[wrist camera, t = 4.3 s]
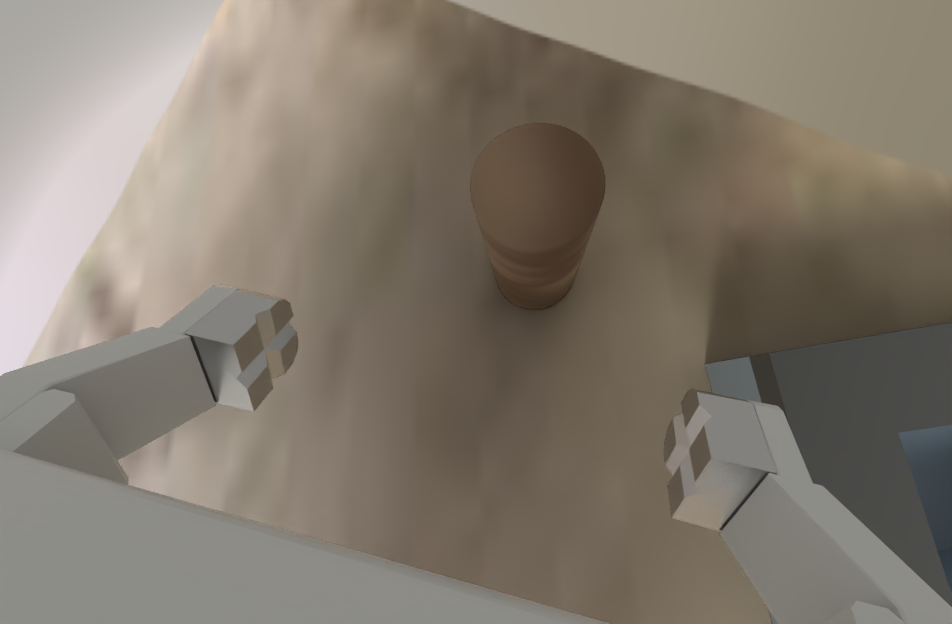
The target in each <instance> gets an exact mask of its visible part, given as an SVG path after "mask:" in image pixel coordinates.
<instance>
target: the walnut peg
mask: <svg viewBox="0 0 952 624" xmlns="http://www.w3.org/2000/svg"><path fill="white" fill-rule="evenodd" d="M470 191H471V199H472V203H473V207H474V210H475V213H476V217H477V220H478V223H479V226H480V229H481V233H482V236H483V239H484V242H485V245H486V249H487V252H488V255H489V258H490V261H491V265H492V268H493V271H494V274H495V277H496V281H497V284H498V286H499V289H500V290H501V292H502V293H503V295H504V296H505V297H506V298H507V299H508V300H509V301H510V302H512V303H513V304H515V305H516V306H519V307H521V308H525V309H530V310H539V309H545V308H548V307H551V306H553V305H555V304H557V303H558V302H559V301H561V300H562V299H563V298H564V297H565V296H566V294H567V293H568V292H569V290H570V288H571V286H572V284H573V281H574V278H575V275H576V273H577V270H578V267H579V265H580V262H581V259H582V256H583V254H584V251H585V248H586V245H587V243H588V240H589V237H590V235H591V232H592V229H593V226H594V224H595V221H596V218H597V215H598V213H599V210H600V207H601V205H602V201H603V198H604V193H605V175H604V170H603V166H602V163H601V161H600V159H599V157H598V155H597V153H596V152H595V150H594V149H593V147H592V146H591V145H590V144H589V143H588V142H587V141H586V140H585V139H584V138H582V137H581V136H580V135H578V134H577V133H575V132H573V131H571V130H569V129H567V128H565V127H562V126H559V125H554V124H547V123H532V124H526V125H522V126H518V127H515V128H513V129H510V130H508V131H506V132H504V133H503V134H501V135H499V136H498V137H497V138H495V139H494V140H493V141H492V142H491V143H490V144H489V145H488V146H487V147H486V148H485V149H484V150H483V152H482V153H481V155H480V156H479V158H478V160H477V162H476V164H475V166H474V169H473V172H472V177H471V185H470Z"/></svg>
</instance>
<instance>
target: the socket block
mask: <svg viewBox="0 0 952 624" xmlns="http://www.w3.org/2000/svg"><path fill="white" fill-rule="evenodd" d="M705 366H706V370H707V374H708V378H709V382H710V385H711V389H712V393H715V394H720V395H725V396H729V397H734V398H739V399H744V400H746V401H747V400H751V401H756V402H761V403H766V404H771V405H776V406H778V407H779V408H780V409H781V410H783V412H784V414H785V417H786V419H787V422H788V424H789V426H790V429H791V431H792V434H793V436H794V439H795V441H796V443H797V446H798V448H799V451H800V453H801V455H802V458H803V460H804V463H805V465H806V468H807V470H808V472H809V475H810V477H811V480H812V482H813V483H814V484H818V485H821V486H823V487H824V488H826V489H827V490H828V491H829V492H830V493H831V494H832V495H833V496H834V497H835V498H836V499H837V500H838V501H839V502H840V503H841V504H843V505H844V506H845V507H846V508H847V509H848V510H849V511H850V512H851V513H852V514H853V515H854V516H855V517H856V518H857V519H858V520H860V521H861V522H862V523H863V524H864V525H865V526H866V527H867V528H868V529H869V530H870V531H871V532H872V533H873V534H874V535H875V536H877V537H878V538H879V539H880V540H881V541H882V542H883V543H884V544H885V545H886V546H887V547H888V548H889V549H890V550H891V551H892V552H894V553H895V554H896V555H897V556H898V557H899V558H900V559H901V560H902V561H903V562H904V563H905V564H906V565H907V566H908V567H909V568H911V569H912V570H913V571H914V572H915V573H916V574H917V575H918V576H919V577H920V578H921V579H922V580H923V581H924V582H925V583H926V584H928V585H929V586H930V587H931V588H932V589H933V590H934V591H935V592H936V593H937V594H938V595H939V596H940V597H941V598H942V599H943V600H945V601H946V602H947V603H948V604H949V605H950V606H951V607H952V323H946V324H940V325H934V326H928V327H922V328H916V329H910V330H904V331H898V332H892V333H886V334H880V335H874V336H868V337H862V338H856V339H851V340H845V341H839V342H833V343H827V344H821V345H815V346H809V347H803V348H797V349H791V350H785V351H779V352H773V353H767V354H761V355H755V356H749V357H743V358H738V359H732V360H726V361H720V362H714V363H709V364H705ZM769 613H770V617H771V621H772V624H778V623H777V621H776V620H775V618H774V616H773V615H772V613H771V612H770V610H769Z"/></svg>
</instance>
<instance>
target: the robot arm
mask: <svg viewBox="0 0 952 624" xmlns="http://www.w3.org/2000/svg"><path fill="white" fill-rule="evenodd" d="M292 317H293V312H292V308H291V304H290V303H289V302H288V301H286V300H285V299H281V298H277V297H273V296H269V295H264V294H260V293H256V292H252V291H248V290H244V289H238V288H234V287H230V286H226V285H222V284H221V285H216V286H212V287H211V288H210V289H209V290H207V291H206V292H205V293H204V294H202V295H201V296H200V297H198V298H197V299H196V300H195V301H193V302H192V303H191V304H189V305H188V306H187V307H186V308H184V309H183V310H182V311H180V312H179V313H178V314H177V315H175V316H174V317H173V318H171V319H170V320H169V321H168V322H166V323H165V324H164V325H163V326H161V327H160V328H159V329H158V328H154V327H150V328H147V329H144V330H141V331H138V332H134V333H131V334H128V335H125V336H122V337H118V338H115V339H112V340H109V341H106V342H103V343H99V344H96V345H93V346H90V347H87V348H84V349H80V350H77V351H74V352H71V353H68V354H64V355H61V356H58V357H55V358H52V359H49V360H45V361H42V362H39V363H36V364H33V365H30V366H26V367H23V368H20V369H17V370H14V371H10V372H7V373H4V374H3V375H2V376H0V624H610V623H606V622H603V621H600V620H596V619H593V618H589V617H586V616H582V615H579V614H575V613H572V612H568V611H565V610H561V609H558V608H554V607H551V606H547V605H544V604H540V603H537V602H534V601H530V600H527V599H523V598H520V597H516V596H513V595H509V594H506V593H502V592H499V591H495V590H492V589H488V588H485V587H481V586H478V585H475V584H471V583H468V582H464V581H461V580H457V579H454V578H450V577H447V576H443V575H440V574H436V573H433V572H429V571H426V570H422V569H419V568H416V567H412V566H409V565H405V564H402V563H398V562H395V561H391V560H388V559H384V558H381V557H377V556H374V555H370V554H367V553H363V552H360V551H357V550H353V549H350V548H346V547H343V546H339V545H336V544H332V543H329V542H325V541H322V540H318V539H315V538H311V537H308V536H304V535H301V534H297V533H294V532H290V531H287V530H283V529H280V528H276V527H273V526H269V525H266V524H262V523H259V522H255V521H252V520H248V519H245V518H241V517H238V516H234V515H231V514H227V513H224V512H220V511H217V510H213V509H210V508H206V507H203V506H200V505H196V504H193V503H189V502H186V501H182V500H179V499H175V498H172V497H168V496H165V495H161V494H158V493H154V492H151V491H147V490H144V489H140V488H137V487H133V486H130V485H128V476H127V474H126V473H125V471H124V470H123V468H122V466H121V465H120V463H119V462H118V460H119V459H121V458H123V457H125V456H126V455H128V454H130V453H132V452H134V451H135V450H137V449H139V448H141V447H142V446H144V445H146V444H148V443H150V442H151V441H153V440H155V439H157V438H158V437H160V436H162V435H164V434H166V433H167V432H169V431H171V430H173V429H174V428H176V427H178V426H180V425H182V424H183V423H185V422H187V421H189V420H190V419H192V418H194V417H196V416H198V415H199V414H201V413H203V412H205V411H207V410H208V409H210V408H212V407H214V406H215V405H216V404H215V403H217V404H222V405H226V406H231V407H235V408H240V409H244V410H249V411H253V412H254V411H255V410H256V409H257V407H258V406H259V405H260V404H261V403H262V401H263V400H264V399H265V398H266V396H267V395H268V394H269V393H270V391H271V390H272V389H273V383H272V379H274V378H276V377H279V376H281V375H283V374H285V373H286V372H287V370H288V369H289V368H290V366H291V365H292V364H293V361H294V359H295V356H296V353H297V349H298V338H297V332H296V331H295V330H294V329H293V327H292V326H291V325H290V324H289V323H288V322H289V321H290V319H291V318H292ZM681 405H682V411H683V413H682V414H680V415H678V416H676V417H674V418H672V421H671V423H670V425H669V427H668V429H667V433H666V437H665V441H664V461H665V466H666V467H667V468H668V470H669V471H670V472H671V473H672V475H673V477H672V479H671V480H670V482H669V484H668V485H667V487H668V494H669V502H670V510H671V518H673V519H676V520H680V521H683V522H687V523H691V524H694V525H698V526H701V527H705V528H708V529H712V530H715V531H719V532H720V533H719V534H720V536H721V537H722V539H723V540H724V542H725V543H726V545H727V547H728V548H729V550H730V551H731V553H732V554H733V556H734V557H735V559H736V560H737V562H738V563H739V565H740V566H741V568H742V569H743V571H744V572H745V574H746V575H747V577H748V578H749V580H750V581H751V583H752V585H753V586H754V588H755V589H756V591H757V592H758V594H759V595H760V597H761V598H762V600H763V601H764V603H765V604H766V606H767V607H768V609H769V610H770V612H771V613H772V615H773V616H774V618H775V620H776V621H777V623H778V624H952V607H951V606H950V605H949V604H948V603H947V602H946V601H945V600H943V599H942V598H941V597H940V596H939V595H938V594H937V593H936V592H935V591H934V590H933V589H932V588H931V587H930V586H929V585H928V584H926V583H925V582H924V581H923V580H922V579H921V578H920V577H919V576H918V575H917V574H916V573H915V572H914V571H913V570H912V569H911V568H909V567H908V566H907V565H906V564H905V563H904V562H903V561H902V560H901V559H900V558H899V557H898V556H897V555H896V554H895V553H894V552H892V551H891V550H890V549H889V548H888V547H887V546H886V545H885V544H884V543H883V542H882V541H881V540H880V539H879V538H878V537H877V536H875V535H874V534H873V533H872V532H871V531H870V530H869V529H868V528H867V527H866V526H865V525H864V524H863V523H862V522H861V521H860V520H858V519H857V518H856V517H855V516H854V515H853V514H852V513H851V512H850V511H849V510H848V509H847V508H846V507H845V506H844V505H843V504H841V503H840V502H839V501H838V500H837V499H836V498H835V497H834V496H833V495H832V494H831V493H830V492H829V491H828V490H827V489H826V488H824V487H823V486H821V485H818V484H814V483H813V482H812V480H811V477H810V475H809V472H808V470H807V468H806V465H805V463H804V460H803V458H802V455H801V453H800V451H799V448H798V446H797V443H796V441H795V439H794V436H793V434H792V431H791V429H790V426H789V424H788V422H787V419H786V417H785V414H784V412H783V410H781V409H780V408H779V407H778V406H776V405H771V404H766V403H761V402H756V401H751V400H747V401H746V400H744V399H739V398H734V397H729V396H725V395H720V394H715V393H711V392H706V391H701V390H696V389H692V388H691V389H690V390H689V391H688V392H687V393H686V394H685V396H684V398H683V400H682V402H681Z"/></svg>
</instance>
